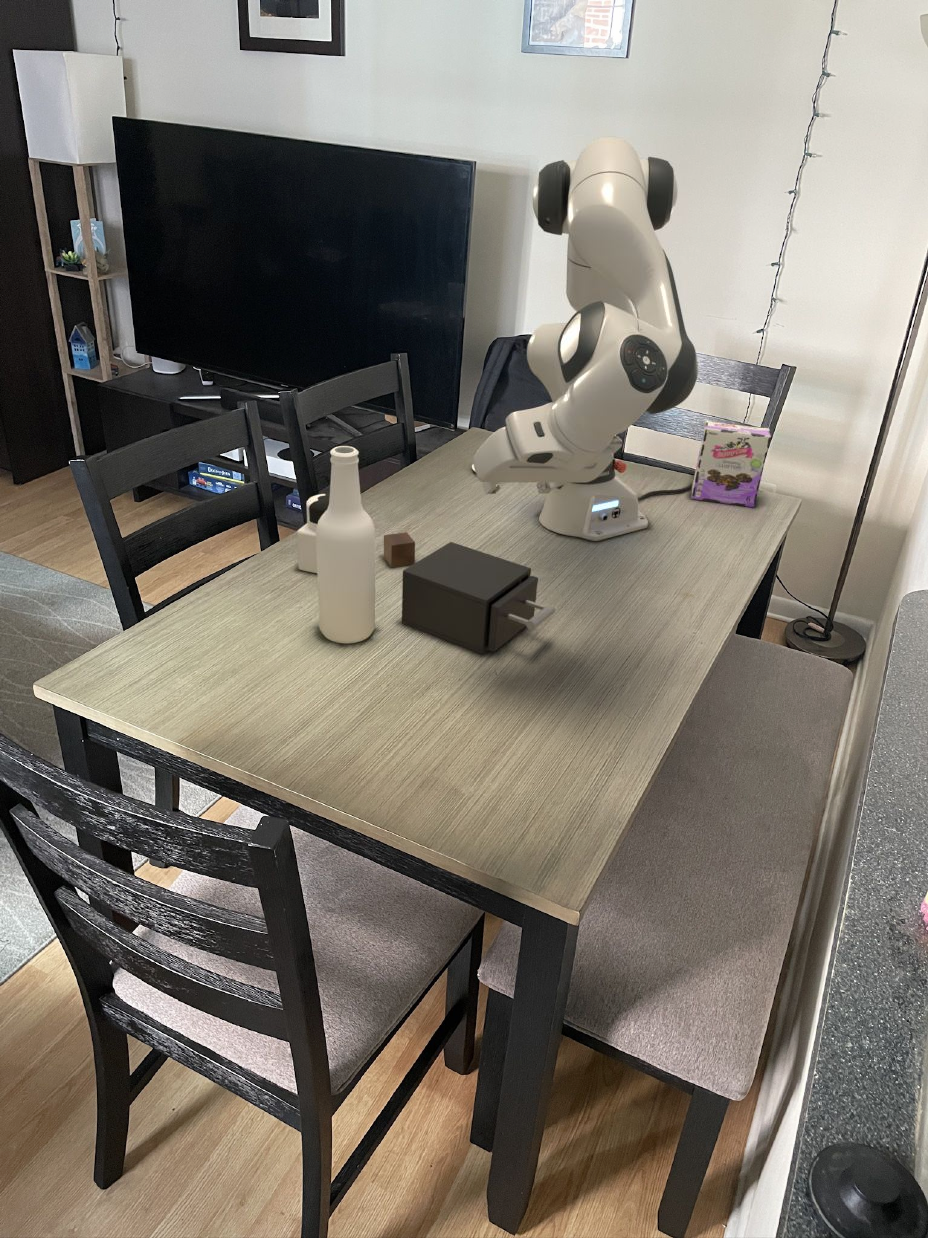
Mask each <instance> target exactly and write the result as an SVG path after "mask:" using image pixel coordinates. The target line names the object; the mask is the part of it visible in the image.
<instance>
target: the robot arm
mask: <svg viewBox="0 0 928 1238" xmlns="http://www.w3.org/2000/svg"><path fill="white" fill-rule="evenodd" d="M677 201H678V183H677V178H676V175H675V170H674V167H673V166H672V165H671V163H670V161H668V160H666V159H664V158H659V157H653V156H648V157H647V158H643V157H639V155H638V152H637V151H636V149H635V148H634V146H632V144H631V143H630V142H628V141H627V140H625V139H623V138H621V137H619V136H618V137H617V136H602V137H598V138H596V139H594V140H592V141H591V142H589V143H588V144H586V146H585V147H584V148H583V149H582V150H581V151H580V153H579V155H578V157H577V159H576V160H569V161H565V160H564V159H562V160H558V161H557V160H556V161H553V162H550V163H548V164H546V165H545V166H544V167H542V168H541V170H540V171H539V172H538V177H536V180H535V183H534V187H533V191H532V209H533V213H534V216H535V218H536V220H537V225H538V226H539V227H540V229H541V230H542V231H543V232H544V233H548V234H552V235H557V236H562V235H563V234H566V235H568V237H567V251H566V253H567V254H566V283H565V284H566V287H565V288H566V289H565V294H566V297H567V300H568V303H569V305H570V306H571V308H572V309H573V310H574V311H576V312H575V313H574V314H573V315H572V316H571V317H570V319H569V320H568V321H567V322H556V323H546V324H545V323H543V324H541V325H540V326H538V327H537V328H536V329H535V330H534V331H533V333H532V335H531V336H530V338H529V341H528V343H527V347H526V360H527V364H528V365H529V366H528V367H529V370H530V371H531V372H532V374H533V375H534V376H535V377H536V378H537V379H538V380H539V381H540V382H541V383H542V385H543V386H544V388H545V389H546V391H547V392H548V394H549V397H550V400H551V402H548V403H546V404H543V405H540V406H537V407H533V408H529V409H522V410H516V411H513V412H511V413H509V414H508V415H507V416H506V418H505V426H503V427H500V428H498V429H497V430H496V431H494V432H493V433H492V434H491V435H490V436H489V437H488V438H487V439H486V440H485V441H484V442H483V443H482V444H481V445H480V447H479V448H478V449H477V451H475V452H474V455H473V456H472V465H473V464H474V468H475V471H476V472H475V471H474V472H475V473H476V476H477V478H478V481H479V482H481V483H482V488H483V491H484V494H485V495H496V494H497V492H499V491H500V490H501V486H500V484H501V483H536V489H537V493H539V494H541V495H543V494H545V495H546V497H545V501H544V504H543V506H542V507H543V508H542V510H541V511H540V514H539V516H538V521H539V523H540V524H541V526H543V527H544V528H545V529H548V530H549V531H551V532H555V533H557V534H561V535H563V536H564V535H565V536H570V537H576V538H577V537H578V538H582V539H585V540H588V541H591V542H592V541H593V542H598V541H602V540H607V539H610V538H614V537H618V536H622V535H625V534H628V533H633V532H636V531H639V530H644V529H646V528H647V529H648V526H649V521H648V518H647V517H646V515H645V514H643V512H641V511H640V510H639V502H640V501H642V500H645V499H646V498H648V497H651V496H654V495H664V494H679V493H683V492H687V491H689V490H690V489H692V485H693V481H692V482H691V483H690V484H689V485H688V486H686V487H683V488H678V489H662V490H661V489H659V490H652V491H649V492H646V493H645V494H643V495H641V496H640V497H638V495H637V494H636V492H635V491H634V490H633V489H632V488H631V487H630V486H629V485H628V484H626V482H625V481H623V480H622V479H621V478H620V477H619V476H618V475H616V471H617V472H618V473H619V474H623V473H625V471H627V469H628V466H627V464H626V463H625V462H622V460H616V458H614V457H615V455H614V454H616V453H617V451H619V450H620V449H621V448H622V446H623V440H622V439H621V438H620V437H619V436H618V435H619V434H622V433H623V432H625V431H626V430H628V429H629V428H630V427H631V426H632V425H633V424H634V423H636V422H637V421H638V419H640V418H641V416H642V415H643V414H644V413H645V412H647V413H648V414H650V415H657V414H661V413H664V412H666V411H670V410H672V409H674V408H676V407H677V406H679V405H681V404H682V403H683V402H685V401H686V399H688V398H689V396H690V394H691V393H692V392H693V390H694V389H695V386H696V384H697V379H698V376H699V375H698V374H699V362H698V356H697V352H696V348H695V346H694V343H693V342H692V341H691V340H690V338H689V336H688V334H687V331H686V326H685V322H684V319H683V318H684V317H683V312H682V308H681V303H680V299H679V294H678V293H679V292H678V289H677V286H676V285H677V284H676V280H675V277H674V271H673V268H672V265H671V262H670V260H669V257H668V256H667V253H666V252H665V250H664V248H663V247H662V245H661V242H660V240H659V238H658V236H657V233H656V232H655V231H658V230H661V229H663V228H664V227H665V226H666V225H667V224H668V223H669V222H670V219H671V216H672V214H673V213H674V211H675V207H676V205H677ZM695 471H696V469H695V470H694V473H693V476H694V475H695Z"/></svg>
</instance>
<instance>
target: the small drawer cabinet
mask: <svg viewBox="0 0 928 1238" xmlns="http://www.w3.org/2000/svg"><path fill="white" fill-rule="evenodd" d="M531 576H532V568H531V567H529V566H525V565H523V564H520V563H516V562H513V561H510V560H507V559H504V558H501V557H498V556H495V555H492V554H489V553H487V552H483V551H480V550H478V549H474V548H471V547H468V546H464V545H461V544H459V543H456V542H453V541H450V542H448V543H446V544H444V545H443V546H442V547H440V548H438V549H436V550H435V551H433V552H431V553H429V554H428V555H426V556H424V557H423V558H421V559H420V560H418V561H416V562H415V564H413V565H409V566H408V567H406V568H405V569H403V570H402V585H401V586H402V587H401V589H402V595H401V599H402V600H401V623H402V624H404V625H406V626H409V627H411V628H414V629H416V630H419V631H421V632H424V633H426V634H429V635H431V636H434V637H436V638H440V639H442V640H444V641H447V642H449V643H452V644H454V645H457V646H459V647H462V648H465V649H468V650H470V651H472V652H475V653H478V654H480V655H484V654H485V653H487V652H488V651H490V650H489V649H488V644H489V639H487V640H486V635H487V622H488V609H489V603H490V602H491V601H492V600H494V599H495V598H497V597H498V596H499V595H501V594H502V593H503V592H505V591H506V590H507V589H509V588H510V587H512V586H513V585H514V584H516V583H517V582H518V581H520V580H521V579H522V583H523V582H524V581H525V580H527V579H528V578H529V577H531Z"/></svg>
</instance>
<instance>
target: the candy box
mask: <svg viewBox="0 0 928 1238" xmlns="http://www.w3.org/2000/svg"><path fill="white" fill-rule="evenodd" d="M771 438H772V436H771V430H770V428H768V427H758V426H748V425H741V424H734V423H733V424H732V423H723V422H716V421H711V420H705V422H704V427H703V432H702V437H701V442H700V446H699V452H698V457H697V461H696V466H695V470H696V471H695V470H694V472H695V475H694V474H693V476H694V477H693V481H692V482H693V485H692V488H691V499H692V500H698V501H705V502H706V501H707V502H713V503H720V504H727V505H733V506H734V505H735V506H742V507H750V508H755V506H756V501H757V499H758V493H759V489H760V485H761V481H762V476H763V472H764V467H765V463H766V460H767V459H766V458H767V457H768V456H767V455H768V450H769V447H770V442H771Z"/></svg>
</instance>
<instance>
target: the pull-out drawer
mask: <svg viewBox="0 0 928 1238" xmlns="http://www.w3.org/2000/svg"><path fill="white" fill-rule="evenodd" d="M538 582H539V577H537V576H534V575H531V576H530V577H529V578H528V579H527V580H525V581H524V582H523V583H522V579H521V580H520V581H518V582H517V583H516V584H514V585H513V586H512V587H510V588H509V589H507V590H506V591H505V592H503V593H502V594H501V595H499V596H498V597H497V598H495V599H494V600H492V601H491V602H490V603H489V609H488V622H487V635H486V640H487V639H489V644H488V649H489V650H488V651H491V652H496V651H497V650H498V649H500V648H501V647H502V646H503V645H504V644H506V643H507V642H508V641H509V640H511V639H512V638H513V637H514V636H516V635H517V634H518V633H519V632H520V631H522V630H523V629H524V628H525V627H526V628H527V629H528V630H529V631H534V630H535V629H536V628H538V627H539V626H541V624H543V623H544V622H545V621H546V620H548V619H549V618H550V617H551V616H552V615H554V614H555V612H556V608H555V606H554V605H553V604H551V603H550V604H546V605H544V604H540V603H537V602H536V601H537V591H538ZM536 609H537V610H539V611H538V612H537V613H536V614H535V611H536Z"/></svg>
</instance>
